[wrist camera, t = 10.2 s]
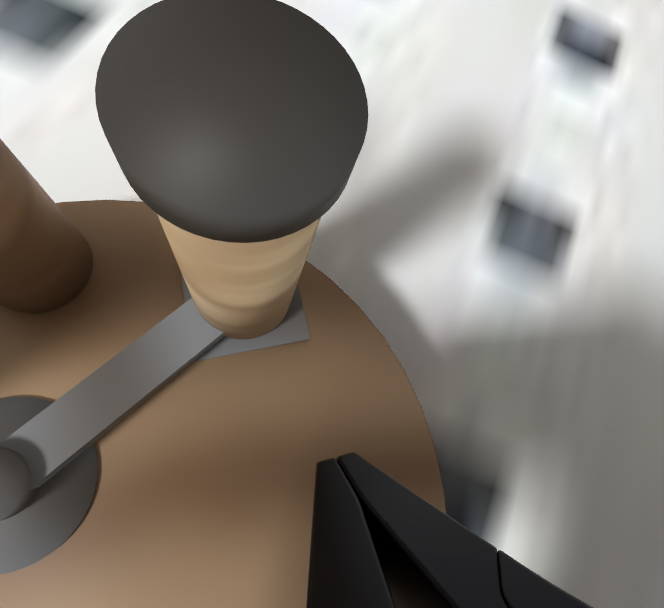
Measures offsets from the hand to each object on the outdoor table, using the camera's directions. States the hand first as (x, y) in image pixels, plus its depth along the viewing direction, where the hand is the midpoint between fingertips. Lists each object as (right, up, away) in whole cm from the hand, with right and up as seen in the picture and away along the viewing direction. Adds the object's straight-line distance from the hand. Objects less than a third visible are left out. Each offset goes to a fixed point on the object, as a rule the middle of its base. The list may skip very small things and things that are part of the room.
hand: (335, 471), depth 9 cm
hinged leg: (-5, +2, +4) cm, 7 cm away
